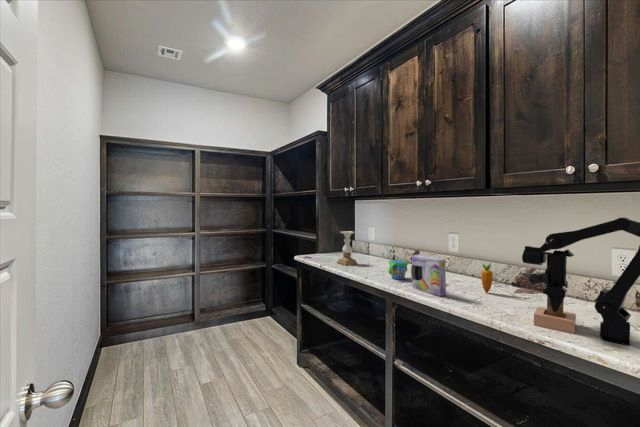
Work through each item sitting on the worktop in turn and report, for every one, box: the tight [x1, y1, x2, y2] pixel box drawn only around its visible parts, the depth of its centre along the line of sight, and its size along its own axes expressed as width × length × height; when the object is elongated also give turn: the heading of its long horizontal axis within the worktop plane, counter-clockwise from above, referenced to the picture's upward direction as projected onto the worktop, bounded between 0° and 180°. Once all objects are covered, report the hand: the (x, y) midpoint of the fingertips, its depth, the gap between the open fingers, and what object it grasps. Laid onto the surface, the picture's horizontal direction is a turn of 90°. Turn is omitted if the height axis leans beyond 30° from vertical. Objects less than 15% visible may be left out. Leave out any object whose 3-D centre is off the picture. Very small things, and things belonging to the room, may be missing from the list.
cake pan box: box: [410, 254, 447, 297], centre depth 156 cm, size 19×5×18 cm, turn 27°
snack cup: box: [388, 259, 409, 280], centre depth 183 cm, size 16×10×10 cm
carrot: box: [481, 262, 494, 294], centre depth 154 cm, size 5×5×15 cm
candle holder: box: [336, 230, 358, 267], centre depth 227 cm, size 11×11×24 cm
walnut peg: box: [546, 295, 565, 318], centre depth 113 cm, size 4×4×10 cm
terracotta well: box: [533, 306, 577, 334], centre depth 113 cm, size 12×12×4 cm
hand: (555, 309), depth 113 cm, fingers closed on walnut peg, 4 cm apart
